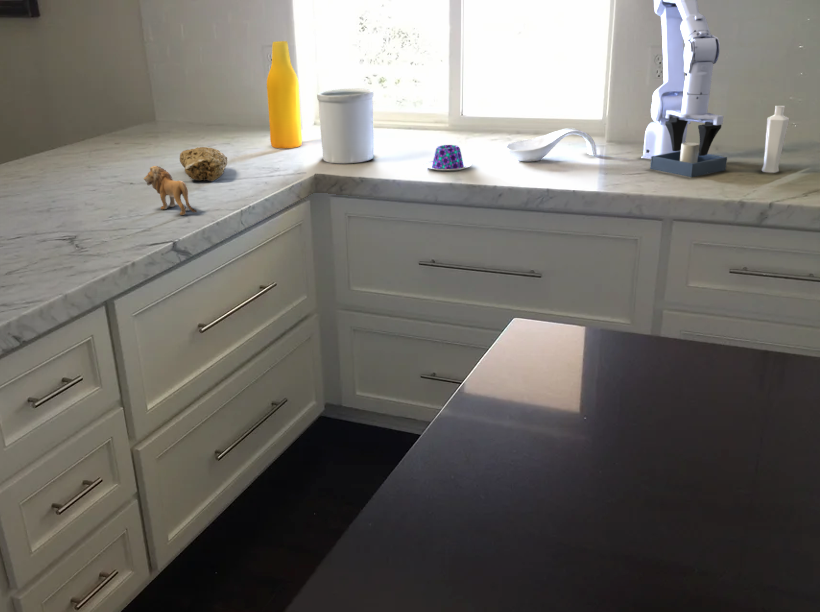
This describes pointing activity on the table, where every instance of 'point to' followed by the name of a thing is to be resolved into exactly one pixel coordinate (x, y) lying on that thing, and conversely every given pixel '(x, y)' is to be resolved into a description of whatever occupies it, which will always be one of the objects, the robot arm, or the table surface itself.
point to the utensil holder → (346, 125)
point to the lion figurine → (168, 188)
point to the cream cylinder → (689, 152)
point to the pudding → (447, 159)
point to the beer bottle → (283, 99)
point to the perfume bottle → (774, 139)
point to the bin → (688, 164)
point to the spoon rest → (545, 145)
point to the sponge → (203, 163)
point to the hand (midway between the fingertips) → (689, 152)
